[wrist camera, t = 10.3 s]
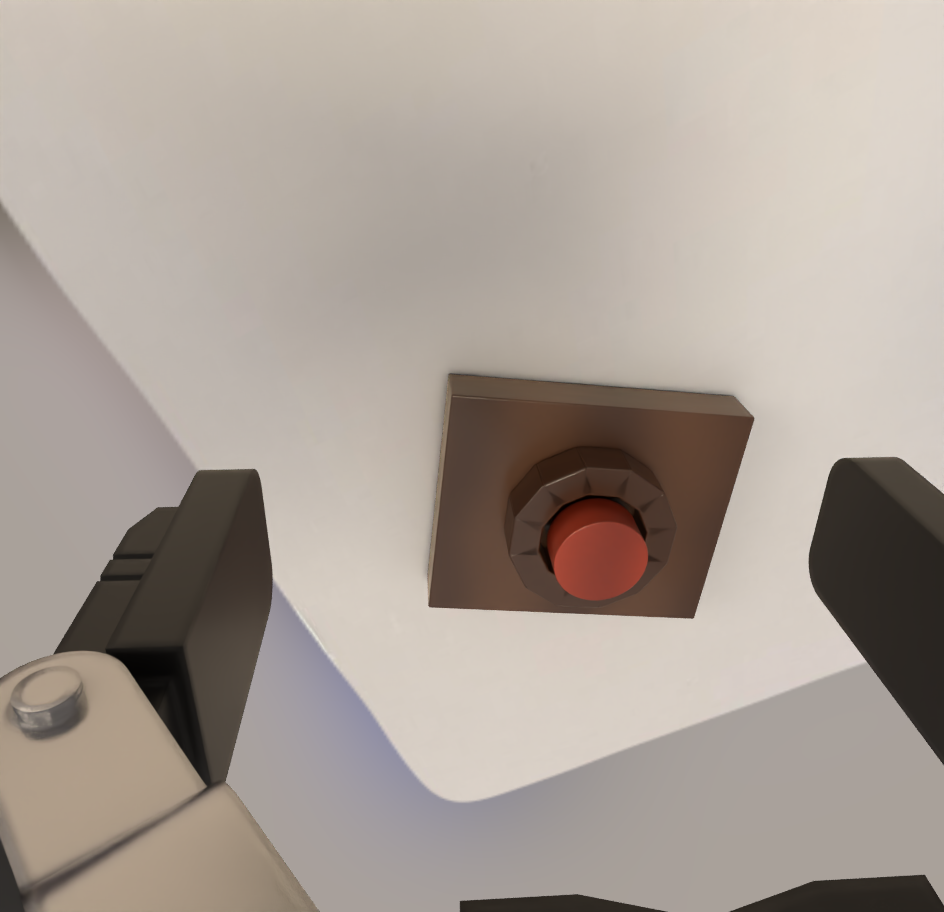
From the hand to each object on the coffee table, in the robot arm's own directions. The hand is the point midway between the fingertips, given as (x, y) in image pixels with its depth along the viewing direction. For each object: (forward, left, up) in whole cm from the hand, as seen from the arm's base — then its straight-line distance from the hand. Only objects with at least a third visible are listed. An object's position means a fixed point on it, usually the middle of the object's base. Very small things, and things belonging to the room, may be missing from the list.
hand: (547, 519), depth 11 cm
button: (+6, -11, -16) cm, 20 cm away
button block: (+6, -11, -20) cm, 23 cm away
